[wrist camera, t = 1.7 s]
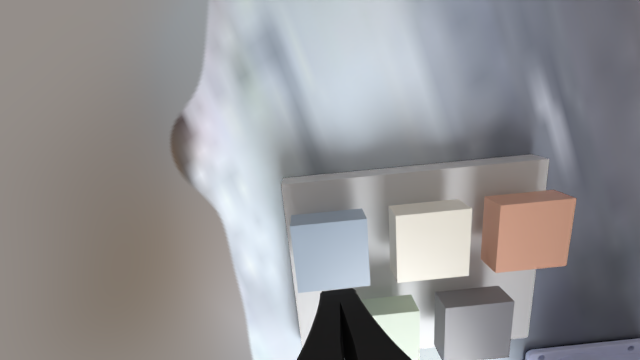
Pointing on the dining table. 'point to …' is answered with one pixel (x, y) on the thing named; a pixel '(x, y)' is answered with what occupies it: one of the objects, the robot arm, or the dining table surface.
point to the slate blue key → (330, 250)
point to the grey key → (473, 323)
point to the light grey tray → (416, 187)
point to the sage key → (398, 321)
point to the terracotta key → (527, 230)
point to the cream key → (429, 240)
